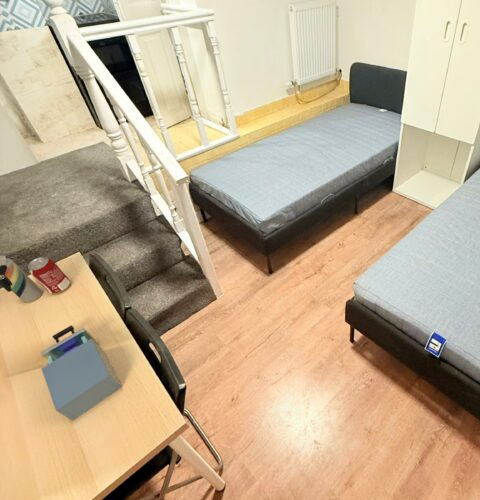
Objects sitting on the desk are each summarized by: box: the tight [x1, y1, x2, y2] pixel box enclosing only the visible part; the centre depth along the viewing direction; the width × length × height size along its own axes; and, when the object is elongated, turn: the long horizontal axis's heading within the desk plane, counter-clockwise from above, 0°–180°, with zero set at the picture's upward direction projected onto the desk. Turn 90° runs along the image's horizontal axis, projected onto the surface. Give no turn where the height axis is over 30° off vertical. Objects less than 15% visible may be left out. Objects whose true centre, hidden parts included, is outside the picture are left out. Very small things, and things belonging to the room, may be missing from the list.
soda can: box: [27, 256, 71, 295], centre depth 108 cm, size 7×7×12 cm
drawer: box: [40, 325, 98, 364], centre depth 90 cm, size 19×11×7 cm, turn 43°
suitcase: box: [41, 339, 123, 422], centre depth 84 cm, size 14×12×9 cm
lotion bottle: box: [0, 253, 43, 303], centre depth 103 cm, size 6×6×20 cm
